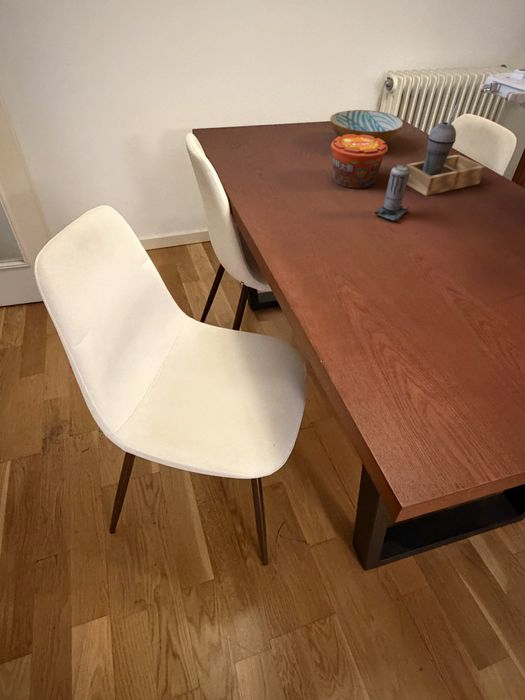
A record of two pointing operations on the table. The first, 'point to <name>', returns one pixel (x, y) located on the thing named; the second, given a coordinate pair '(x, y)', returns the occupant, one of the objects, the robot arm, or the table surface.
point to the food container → (357, 160)
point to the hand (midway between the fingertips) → (494, 92)
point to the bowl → (366, 124)
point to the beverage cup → (439, 146)
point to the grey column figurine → (395, 194)
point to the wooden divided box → (445, 175)
